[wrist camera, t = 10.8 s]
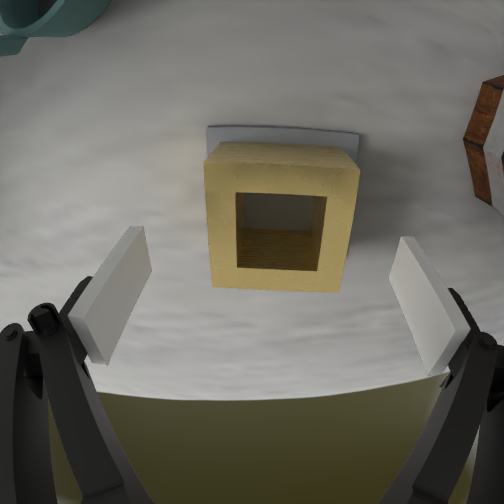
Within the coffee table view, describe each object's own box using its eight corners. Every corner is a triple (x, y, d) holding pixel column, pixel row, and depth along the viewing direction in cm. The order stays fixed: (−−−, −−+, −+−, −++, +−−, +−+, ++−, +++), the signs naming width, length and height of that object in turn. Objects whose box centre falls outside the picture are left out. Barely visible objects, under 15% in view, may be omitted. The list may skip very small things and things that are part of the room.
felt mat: (214, 252, 25) (213, 256, 24) (208, 126, 19) (206, 127, 19) (339, 257, 24) (340, 262, 24) (357, 133, 19) (359, 135, 18)
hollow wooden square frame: (224, 245, 24) (212, 286, 19) (220, 141, 19) (203, 162, 15) (328, 250, 23) (338, 292, 19) (341, 147, 19) (360, 170, 15)
